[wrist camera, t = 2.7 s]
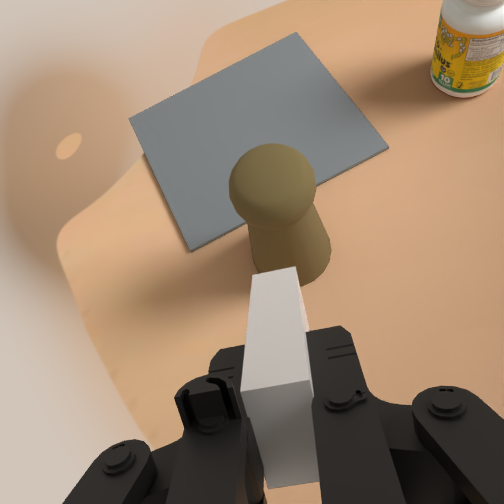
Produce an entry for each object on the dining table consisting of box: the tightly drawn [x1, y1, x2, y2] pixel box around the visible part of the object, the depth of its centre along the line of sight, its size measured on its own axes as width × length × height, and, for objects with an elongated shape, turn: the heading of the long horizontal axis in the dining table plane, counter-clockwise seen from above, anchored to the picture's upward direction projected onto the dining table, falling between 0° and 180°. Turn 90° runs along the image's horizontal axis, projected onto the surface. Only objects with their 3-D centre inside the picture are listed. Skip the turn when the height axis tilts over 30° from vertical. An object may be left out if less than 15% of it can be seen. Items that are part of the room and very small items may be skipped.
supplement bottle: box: [431, 0, 504, 98], centre depth 36 cm, size 5×5×10 cm
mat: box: [129, 32, 389, 252], centre depth 42 cm, size 18×16×1 cm
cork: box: [229, 143, 331, 286], centre depth 32 cm, size 6×6×11 cm
